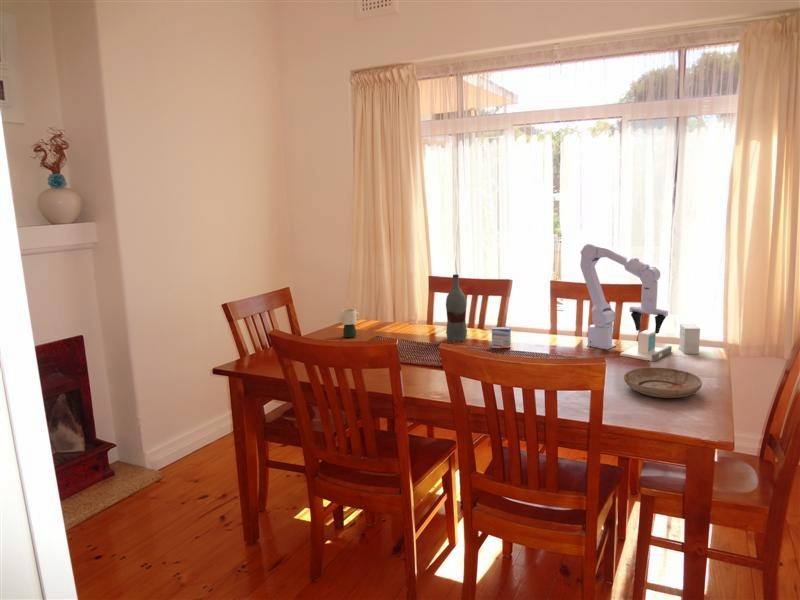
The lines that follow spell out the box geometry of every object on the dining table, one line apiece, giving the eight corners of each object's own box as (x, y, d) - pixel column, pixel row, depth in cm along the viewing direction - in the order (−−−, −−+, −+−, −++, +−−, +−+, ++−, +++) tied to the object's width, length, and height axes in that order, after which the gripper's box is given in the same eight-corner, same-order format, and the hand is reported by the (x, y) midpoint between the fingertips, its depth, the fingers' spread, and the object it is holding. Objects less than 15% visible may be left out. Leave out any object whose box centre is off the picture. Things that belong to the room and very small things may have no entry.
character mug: (355, 333, 291) (354, 307, 289) (363, 336, 285) (362, 309, 283) (336, 337, 285) (334, 310, 282) (344, 340, 279) (342, 313, 277)
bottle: (444, 342, 270) (442, 276, 264) (449, 337, 279) (447, 273, 273) (464, 343, 267) (463, 276, 261) (468, 338, 276) (468, 273, 270)
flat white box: (620, 355, 240) (620, 349, 240) (638, 346, 252) (638, 341, 252) (654, 361, 231) (655, 355, 230) (671, 352, 243) (672, 346, 242)
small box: (698, 354, 239) (700, 328, 237) (683, 354, 240) (685, 328, 238) (693, 349, 246) (694, 324, 244) (678, 348, 247) (680, 323, 245)
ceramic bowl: (624, 378, 214) (625, 364, 213) (698, 384, 205) (699, 370, 204) (622, 399, 193) (623, 385, 192) (704, 407, 184) (705, 392, 183)
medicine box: (491, 348, 257) (491, 328, 255) (492, 345, 261) (492, 326, 260) (510, 349, 255) (510, 329, 254) (510, 346, 259) (510, 326, 258)
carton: (637, 352, 240) (638, 333, 239) (644, 348, 245) (645, 329, 244) (648, 354, 237) (649, 334, 236) (655, 350, 242) (656, 331, 241)
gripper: (626, 297, 239) (625, 330, 242) (663, 301, 229) (662, 336, 232) (634, 295, 244) (632, 327, 247) (670, 298, 234) (669, 332, 237)
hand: (647, 331), depth 240 cm, fingers open, 7 cm apart
